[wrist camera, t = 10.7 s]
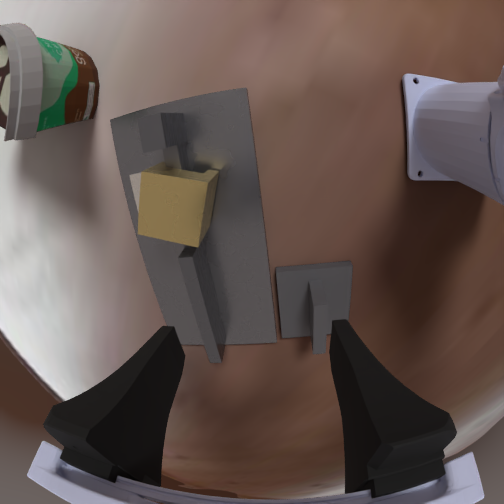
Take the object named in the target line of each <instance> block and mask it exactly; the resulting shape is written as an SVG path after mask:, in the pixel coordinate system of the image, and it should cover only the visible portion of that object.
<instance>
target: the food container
mask: <svg viewBox="0 0 504 504" xmlns="http://www.w3.org/2000/svg"><path fill="white" fill-rule="evenodd" d="M98 95H99V79H98V71H97V68H96V66H95V64H94V62H93V60H92V58H91V57H90V56H89V55H88V54H86V53H85V52H84V51H81V50H79V49H76V48H73V47H69V46H66V45H63V44H60V43H56V42H53V41H49V40H46V39H42V38H38V37H36V35H35V34H34V32H33V31H32V29H31V28H29V27H28V26H27V25H25V24H21V23H12V24H5V25H0V126H1V127H2V128H4V129H6V131H5V137H4V141H8V140H12V139H14V140H21V139H29V138H35V136H36V132H38V131H41V130H45V129H49V128H52V127H56V126H60V125H65V124H69V123H73V122H78V121H83V120H88V119H93V117H94V114H95V111H96V108H97V104H98Z"/></svg>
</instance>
